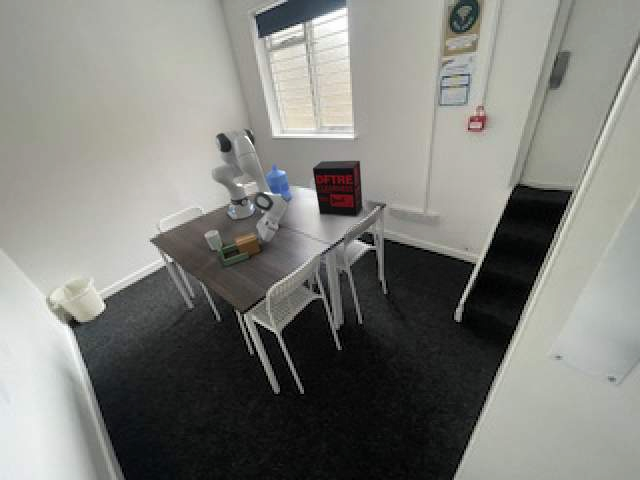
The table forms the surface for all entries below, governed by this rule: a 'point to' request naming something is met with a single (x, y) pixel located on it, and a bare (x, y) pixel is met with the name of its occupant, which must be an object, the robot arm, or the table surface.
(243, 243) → the parcel
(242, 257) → the stand
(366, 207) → the table surface
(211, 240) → the white cup
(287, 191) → the water jug
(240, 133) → the robot arm
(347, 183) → the product box
